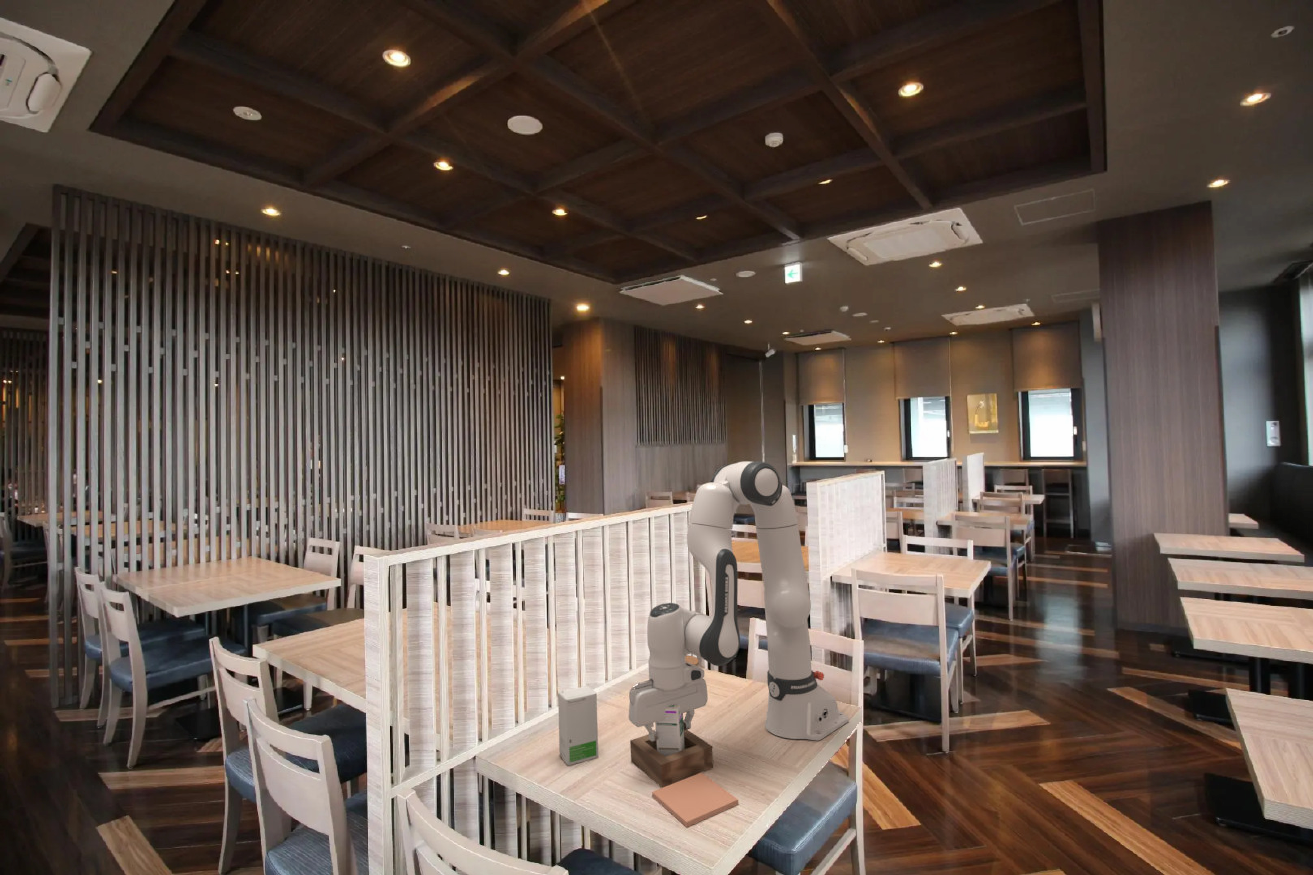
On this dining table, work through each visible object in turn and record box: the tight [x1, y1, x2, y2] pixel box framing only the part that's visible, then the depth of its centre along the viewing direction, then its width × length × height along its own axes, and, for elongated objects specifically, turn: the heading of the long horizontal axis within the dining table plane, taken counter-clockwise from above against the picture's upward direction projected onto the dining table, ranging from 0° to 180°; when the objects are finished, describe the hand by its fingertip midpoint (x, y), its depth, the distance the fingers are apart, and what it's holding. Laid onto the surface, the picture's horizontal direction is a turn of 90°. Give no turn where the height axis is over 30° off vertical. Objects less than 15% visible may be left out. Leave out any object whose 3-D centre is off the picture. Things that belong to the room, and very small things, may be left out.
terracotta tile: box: [651, 772, 739, 828], centre depth 127 cm, size 13×13×1 cm
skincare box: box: [557, 685, 599, 766], centre depth 148 cm, size 8×7×16 cm
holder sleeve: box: [629, 729, 714, 788], centre depth 142 cm, size 14×14×5 cm
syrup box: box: [654, 704, 685, 757], centre depth 142 cm, size 6×6×14 cm
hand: (670, 734), depth 142 cm, fingers closed on syrup box, 8 cm apart
